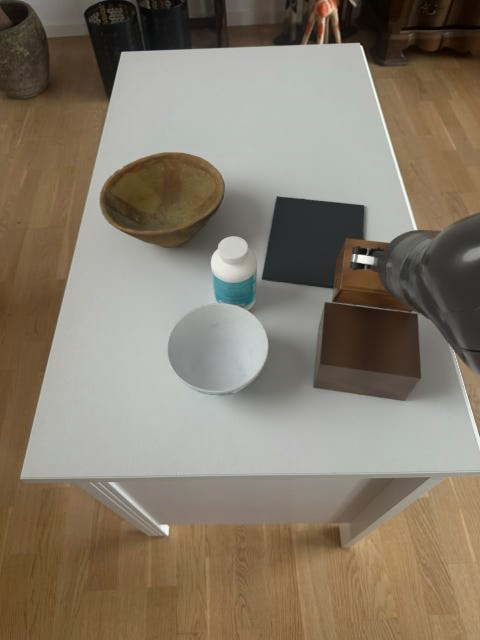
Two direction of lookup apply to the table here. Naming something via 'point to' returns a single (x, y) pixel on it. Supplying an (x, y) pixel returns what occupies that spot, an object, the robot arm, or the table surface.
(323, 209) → the mat
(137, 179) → the bowl
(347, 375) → the stand
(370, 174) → the table surface
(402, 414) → the table surface
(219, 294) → the pill bottle
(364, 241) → the wooden box
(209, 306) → the chinaware
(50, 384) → the table surface
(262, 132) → the table surface
